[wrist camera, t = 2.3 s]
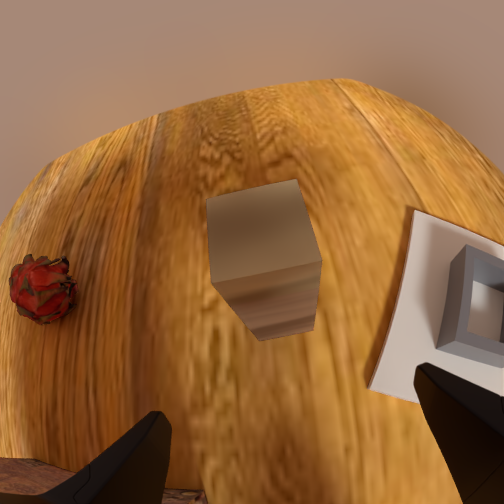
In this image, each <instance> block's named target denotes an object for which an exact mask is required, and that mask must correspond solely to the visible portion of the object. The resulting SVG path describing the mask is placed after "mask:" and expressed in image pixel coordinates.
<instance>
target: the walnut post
mask: <svg viewBox="0 0 504 504" xmlns="http://www.w3.org/2000/svg"><path fill="white" fill-rule="evenodd" d="M206 210H207V229H208V246H209V260H210V274H211V284H212V285H213V286H214V287H215V289H216V290H217V291H218V292H219V294H220V295H221V296H222V297H223V298H224V300H225V301H226V302H227V303H228V304H229V306H230V307H231V308H232V309H233V311H234V312H235V313H236V314H237V315H238V317H239V318H240V319H241V320H242V321H243V322H244V324H245V325H246V326H247V327H248V328H249V330H250V331H251V332H252V333H253V334H254V335H255V336H256V338H257V339H258V340H259V341H262V340H268V339H273V338H279V337H284V336H289V335H294V334H299V333H303V332H308V331H312V330H313V328H314V322H315V315H316V308H317V300H318V292H319V284H320V276H321V267H322V258H321V255H320V251H319V248H318V244H317V241H316V238H315V234H314V231H313V228H312V225H311V221H310V218H309V215H308V212H307V209H306V206H305V203H304V200H303V197H302V194H301V191H300V188H299V185H298V182H297V179H293V180H288V181H283V182H278V183H273V184H268V185H264V186H259V187H255V188H250V189H246V190H241V191H237V192H233V193H228V194H224V195H220V196H216V197H212V198H208V199H206Z"/></svg>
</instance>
